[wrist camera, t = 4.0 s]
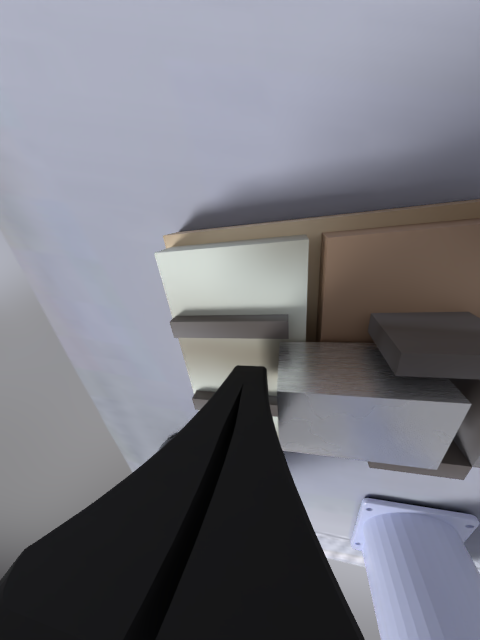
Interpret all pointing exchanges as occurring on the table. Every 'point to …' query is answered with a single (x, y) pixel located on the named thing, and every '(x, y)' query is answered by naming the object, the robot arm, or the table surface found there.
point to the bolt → (363, 406)
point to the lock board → (336, 300)
